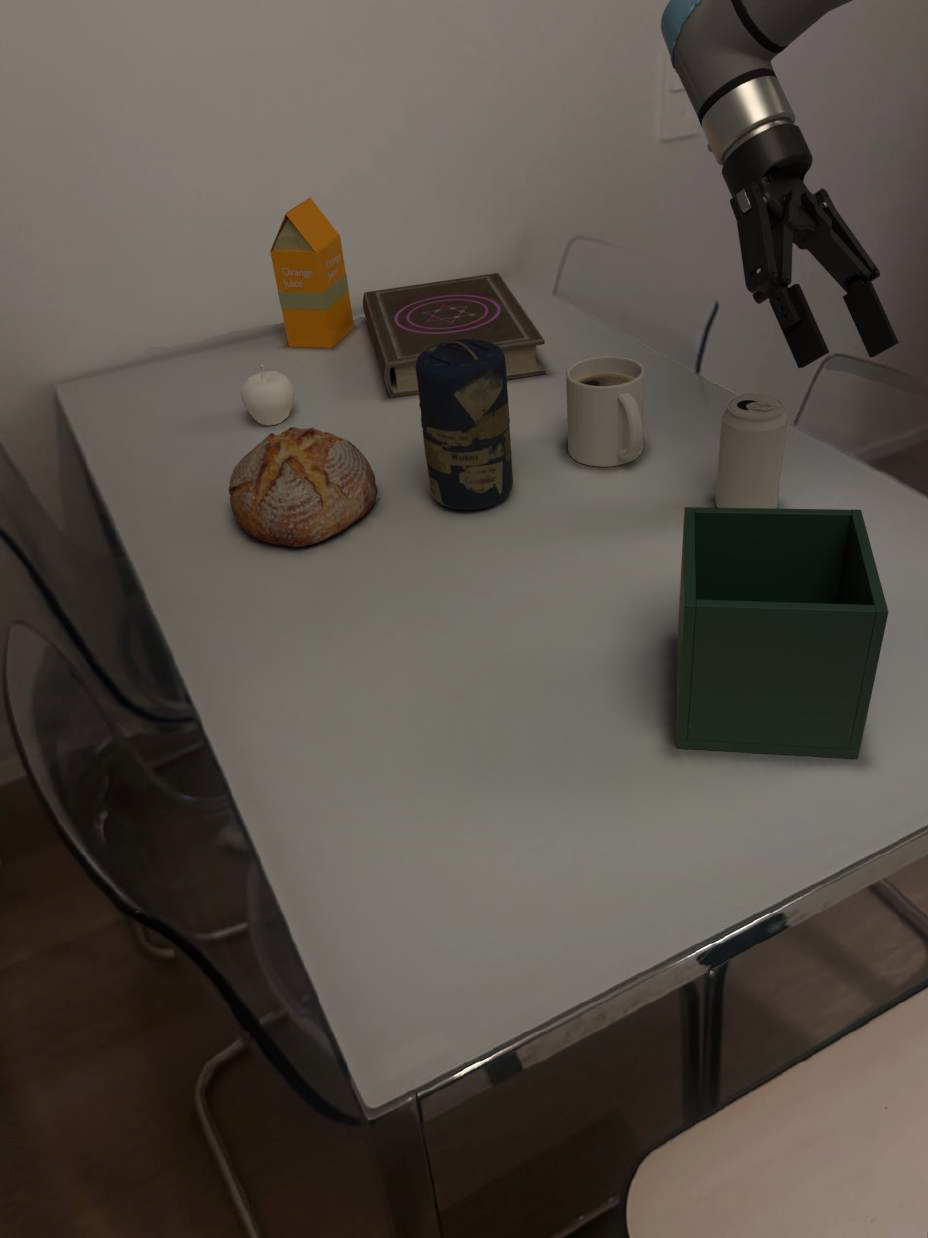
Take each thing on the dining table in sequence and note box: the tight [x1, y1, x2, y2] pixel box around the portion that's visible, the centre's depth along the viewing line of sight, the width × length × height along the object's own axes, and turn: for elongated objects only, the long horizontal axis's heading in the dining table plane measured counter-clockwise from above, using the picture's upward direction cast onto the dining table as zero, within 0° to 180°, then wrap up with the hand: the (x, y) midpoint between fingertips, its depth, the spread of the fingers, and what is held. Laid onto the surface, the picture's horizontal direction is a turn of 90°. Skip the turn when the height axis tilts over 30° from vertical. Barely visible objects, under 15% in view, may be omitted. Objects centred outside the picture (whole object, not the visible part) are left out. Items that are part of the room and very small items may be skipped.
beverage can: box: [714, 393, 789, 509], centre depth 103 cm, size 6×6×12 cm
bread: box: [228, 426, 378, 548], centre depth 112 cm, size 16×20×10 cm
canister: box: [416, 339, 514, 511], centre depth 109 cm, size 10×10×18 cm
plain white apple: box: [240, 363, 295, 427], centre depth 133 cm, size 7×7×8 cm
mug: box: [565, 355, 646, 468], centre depth 116 cm, size 11×10×10 cm
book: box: [362, 272, 547, 399], centre depth 149 cm, size 30×22×5 cm
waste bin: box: [675, 506, 889, 760], centre depth 79 cm, size 14×14×14 cm
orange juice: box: [269, 196, 355, 349], centre depth 153 cm, size 8×9×20 cm
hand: (851, 355), depth 91 cm, fingers open, 13 cm apart
